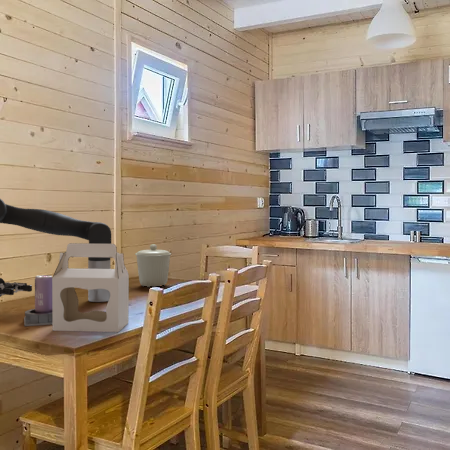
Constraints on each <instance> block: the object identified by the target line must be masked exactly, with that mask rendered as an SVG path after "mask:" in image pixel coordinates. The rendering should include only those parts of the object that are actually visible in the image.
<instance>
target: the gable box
mask: <svg viewBox="0 0 450 450" xmlns="http://www.w3.org/2000/svg"><path fill="white" fill-rule="evenodd" d="M88 257H110V259H114V268H110V269H88V268H73V267H71V268H69V260H70V258H88ZM58 260H59V261H58V262H59V263H58V265H57V266H56V269H55V271H54V272H53V275H52V324H51V325H52V331H53V332H55V331H56V332H84V333H85V332H89V333H90V332H91V333H92V332H95V333H97V332H99V333H119V332H121V330H123V329H124V328H125V327H126V326H127V325H128V324H129V323H130V321H129V320H130V319H129V318H130V317H129V293H130V292H129V290H130V289H129V288H130V287H129V272H128V269H127V268H126V265H125V258H124V253H119V252H118V251H117V245H116V244H115V243H111V244H91V243H89V242H87V243H83V242H81V243H80V242H79V243H78V242H75V243H74V242H73V243H72V242H71V243H68V244H67V246H66V250H65V251H64V252H60V253H59V259H58ZM76 288H77V289H82V290H87V291H88V290H92V289H106V290H108V291H109V292H110V299H109V301H107V304H106V308H105V311H103V310H91V311H88V312H81V311H79V298H78V295H77V292H76Z"/></svg>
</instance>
